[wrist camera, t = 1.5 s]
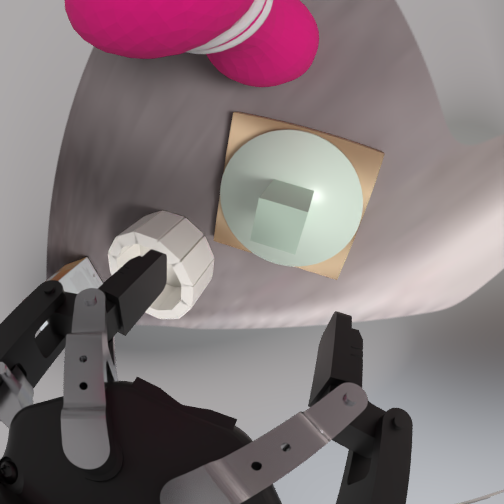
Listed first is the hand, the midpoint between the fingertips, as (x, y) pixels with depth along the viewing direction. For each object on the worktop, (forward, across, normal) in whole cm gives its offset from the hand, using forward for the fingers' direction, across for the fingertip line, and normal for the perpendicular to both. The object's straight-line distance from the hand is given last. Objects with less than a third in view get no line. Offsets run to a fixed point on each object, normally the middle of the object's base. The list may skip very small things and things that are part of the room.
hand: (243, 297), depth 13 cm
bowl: (+14, +11, +10) cm, 20 cm away
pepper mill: (+14, +4, -12) cm, 19 cm away
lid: (+12, 0, 0) cm, 13 cm away
